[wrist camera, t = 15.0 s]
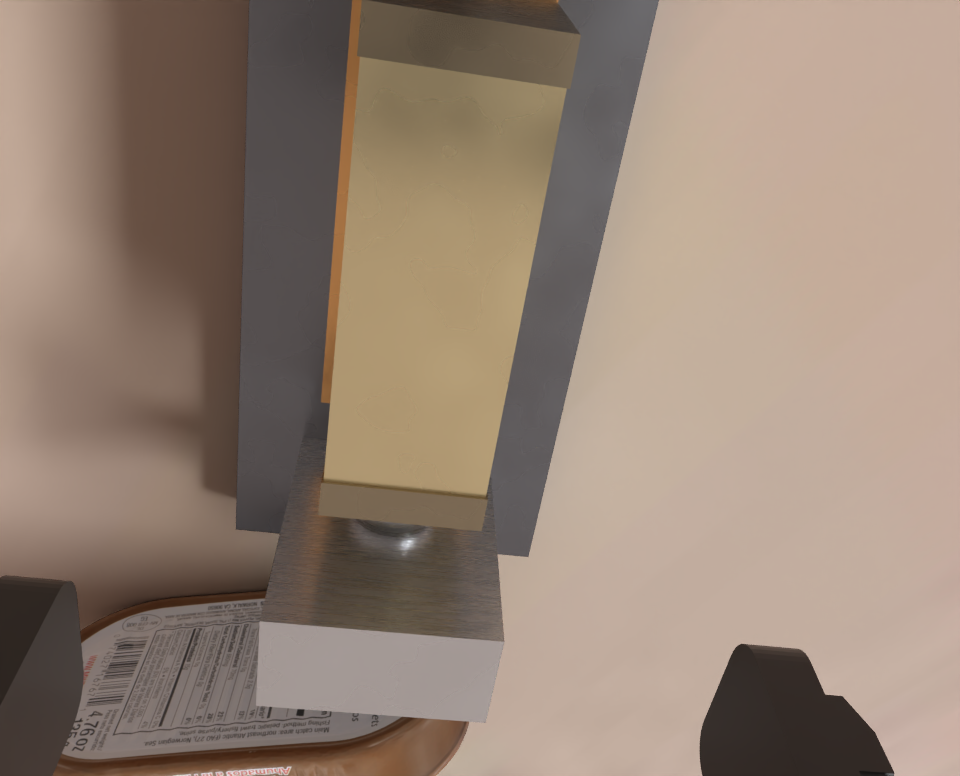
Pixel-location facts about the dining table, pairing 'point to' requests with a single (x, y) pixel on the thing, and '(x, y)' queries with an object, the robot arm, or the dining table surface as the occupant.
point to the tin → (221, 705)
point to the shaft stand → (309, 369)
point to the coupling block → (439, 249)
